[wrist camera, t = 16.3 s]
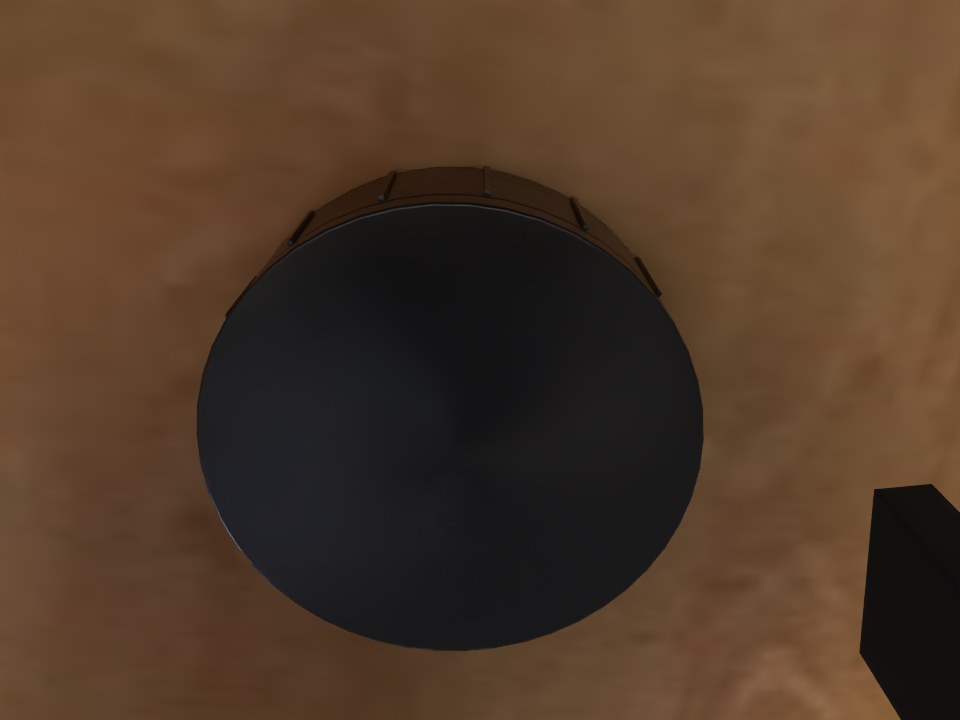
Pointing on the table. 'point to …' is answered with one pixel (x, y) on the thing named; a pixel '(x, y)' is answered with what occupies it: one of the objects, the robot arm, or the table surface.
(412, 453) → the lid
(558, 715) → the table surface
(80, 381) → the table surface
